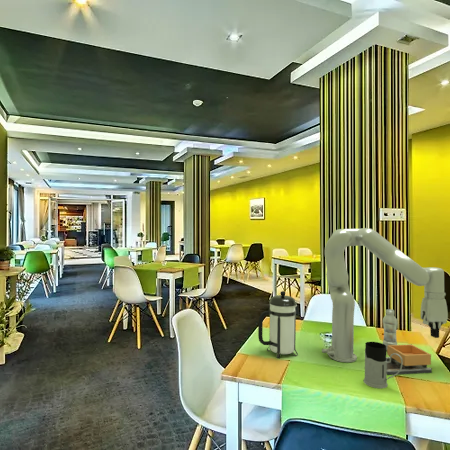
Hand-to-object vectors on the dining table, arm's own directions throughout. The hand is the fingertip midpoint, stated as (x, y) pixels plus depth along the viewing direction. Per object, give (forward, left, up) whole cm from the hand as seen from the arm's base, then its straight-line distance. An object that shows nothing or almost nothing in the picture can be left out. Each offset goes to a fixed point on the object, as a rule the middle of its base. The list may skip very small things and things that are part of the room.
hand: (434, 336), depth 148 cm
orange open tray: (-13, 0, -11) cm, 17 cm away
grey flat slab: (-17, 0, -13) cm, 21 cm away
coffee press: (-65, +20, -13) cm, 69 cm away
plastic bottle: (-9, +19, -13) cm, 25 cm away
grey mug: (-34, -15, -13) cm, 39 cm away
